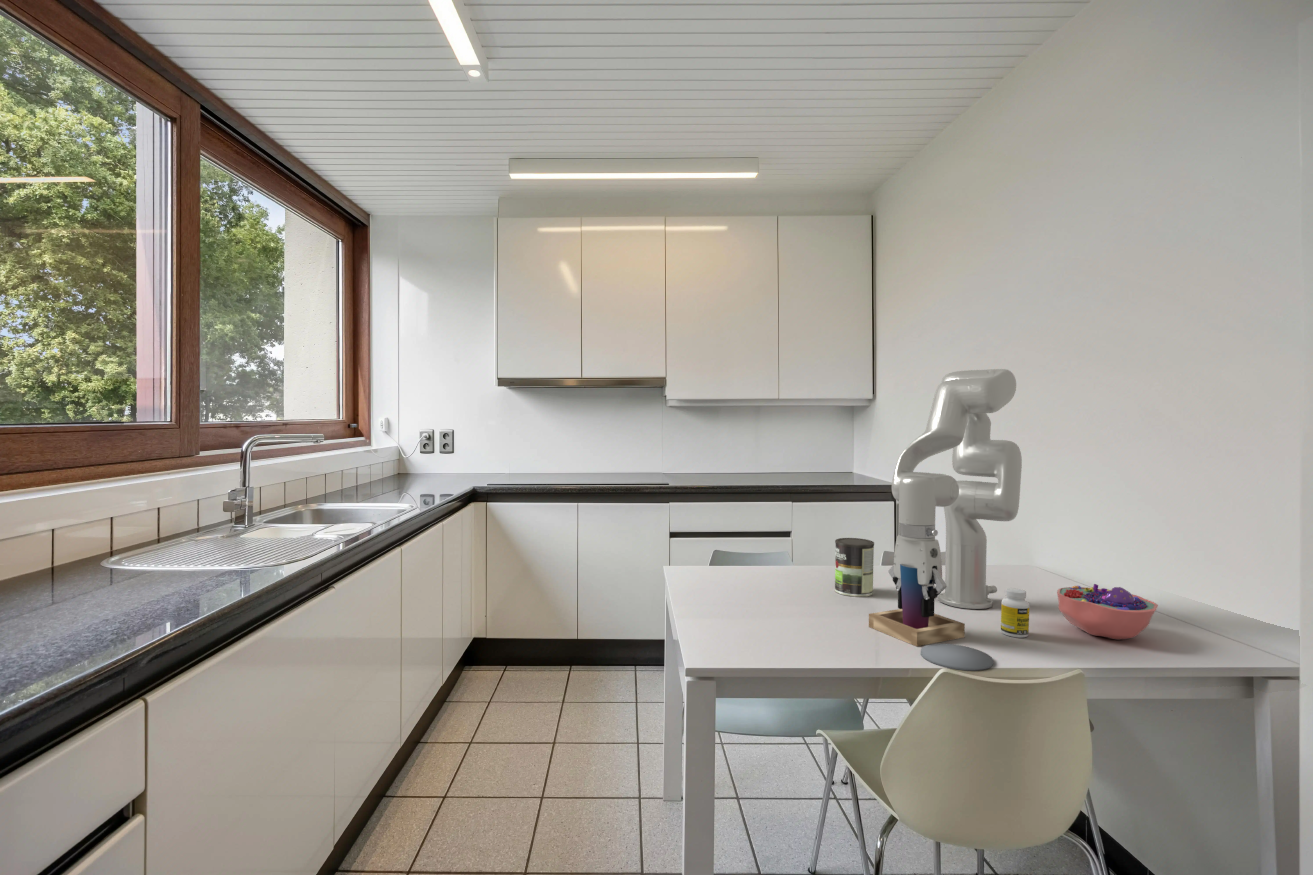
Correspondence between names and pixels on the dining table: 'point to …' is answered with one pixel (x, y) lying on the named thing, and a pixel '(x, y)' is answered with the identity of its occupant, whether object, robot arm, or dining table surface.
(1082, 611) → the cell model
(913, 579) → the cup
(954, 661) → the disc
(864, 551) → the coffee can
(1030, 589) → the dining table surface
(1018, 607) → the supplement bottle
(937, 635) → the socket
